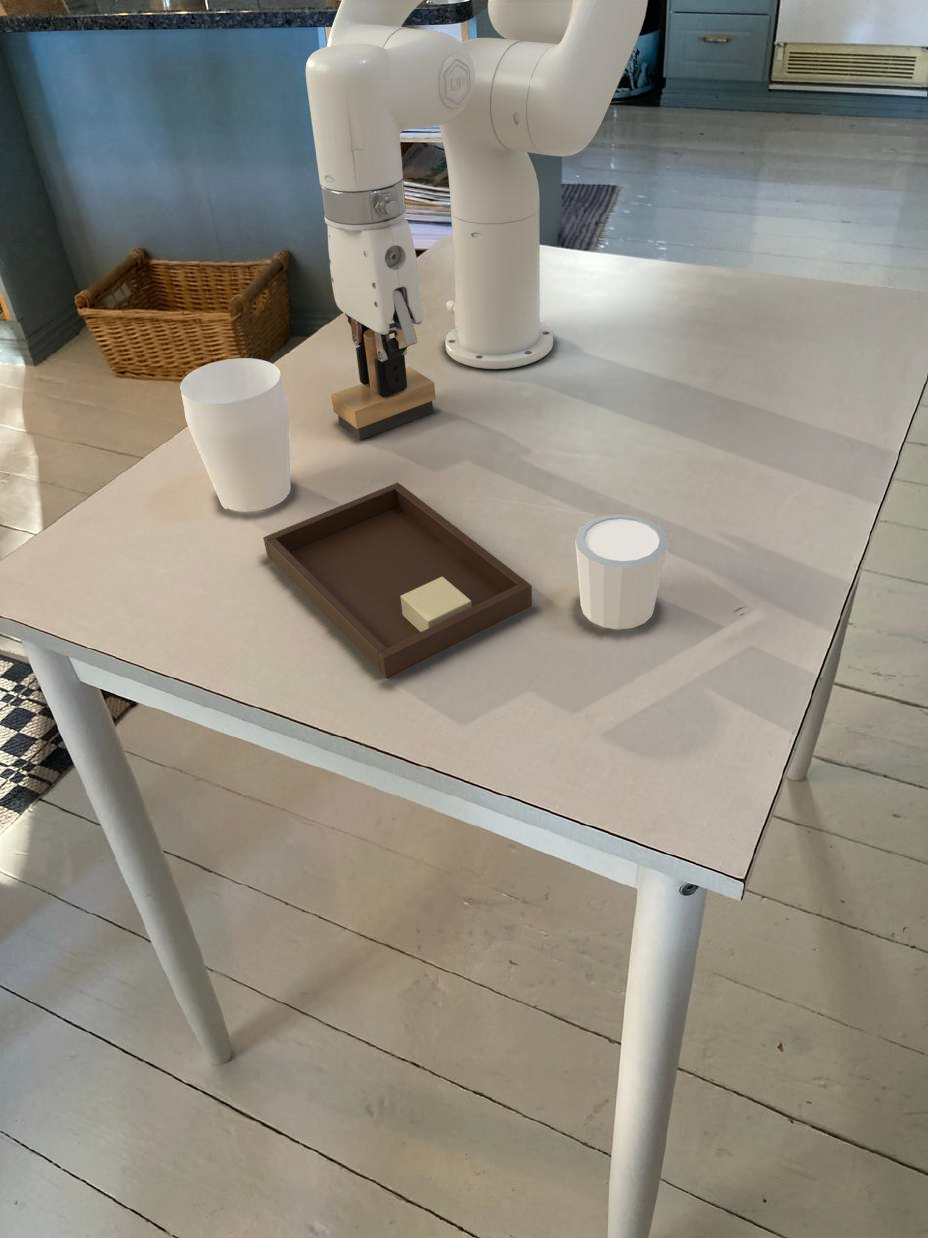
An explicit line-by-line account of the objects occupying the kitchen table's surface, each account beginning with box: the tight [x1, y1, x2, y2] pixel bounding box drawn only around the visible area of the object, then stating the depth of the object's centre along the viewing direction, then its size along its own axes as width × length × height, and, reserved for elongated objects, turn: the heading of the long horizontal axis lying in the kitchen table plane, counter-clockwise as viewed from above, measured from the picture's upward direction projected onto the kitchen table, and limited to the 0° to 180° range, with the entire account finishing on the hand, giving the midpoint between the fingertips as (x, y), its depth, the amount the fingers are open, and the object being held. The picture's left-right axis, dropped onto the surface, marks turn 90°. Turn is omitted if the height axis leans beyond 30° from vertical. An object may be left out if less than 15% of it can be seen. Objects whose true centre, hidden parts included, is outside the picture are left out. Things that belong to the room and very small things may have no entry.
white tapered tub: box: [574, 513, 669, 630], centre depth 76 cm, size 7×7×7 cm
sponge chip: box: [400, 577, 471, 632], centre depth 77 cm, size 4×4×2 cm
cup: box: [179, 357, 291, 513], centre depth 90 cm, size 9×9×12 cm
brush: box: [330, 329, 437, 441], centre depth 102 cm, size 5×10×10 cm, turn 125°
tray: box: [262, 482, 533, 680], centre depth 82 cm, size 20×14×3 cm
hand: (383, 384), depth 102 cm, fingers closed
